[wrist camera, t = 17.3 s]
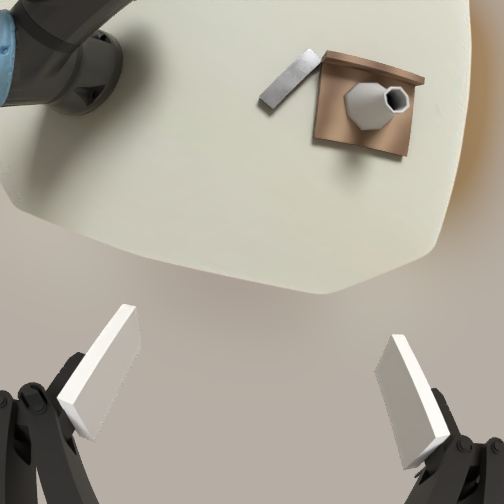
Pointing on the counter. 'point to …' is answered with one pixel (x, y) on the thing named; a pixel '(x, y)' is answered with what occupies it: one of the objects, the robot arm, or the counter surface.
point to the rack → (334, 108)
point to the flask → (374, 104)
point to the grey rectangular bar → (290, 78)
